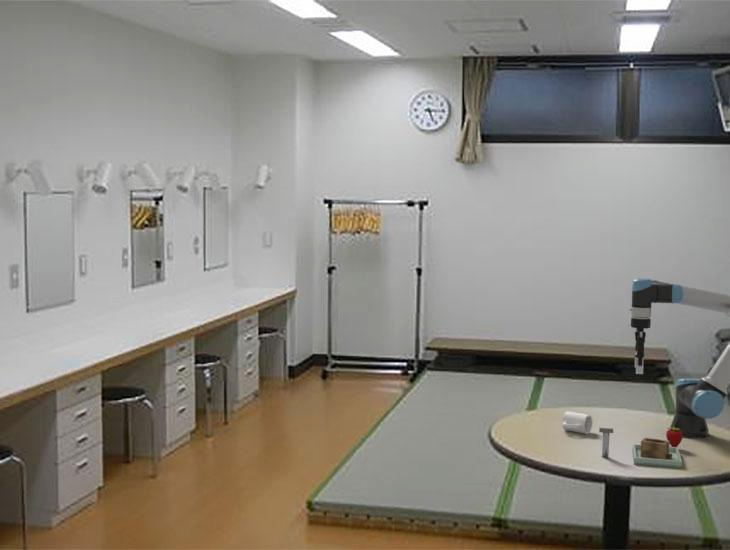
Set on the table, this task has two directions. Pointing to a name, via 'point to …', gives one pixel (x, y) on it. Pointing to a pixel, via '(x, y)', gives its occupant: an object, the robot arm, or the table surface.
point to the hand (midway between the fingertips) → (638, 370)
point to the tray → (673, 463)
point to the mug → (577, 422)
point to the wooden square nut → (655, 449)
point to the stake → (605, 441)
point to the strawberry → (674, 436)
